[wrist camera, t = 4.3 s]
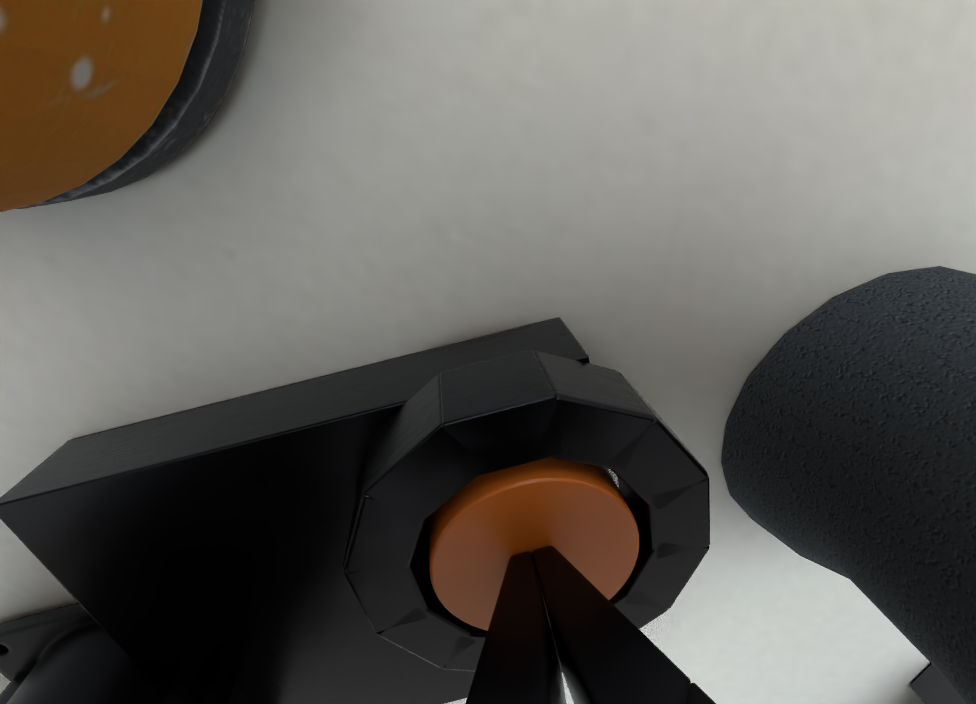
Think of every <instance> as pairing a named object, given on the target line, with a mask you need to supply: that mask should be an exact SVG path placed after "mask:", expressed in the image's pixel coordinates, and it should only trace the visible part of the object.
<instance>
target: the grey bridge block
mask: <svg viewBox="0 0 976 704" xmlns="http://www.w3.org/2000/svg"><path fill="white" fill-rule="evenodd" d="M910 687H911V688H912V689H913V690H914V691H915V692H916V694H917V695H918V696H919V697H920V698H921V699H922V700H923V701H924V703H925V704H966V702H965V701H964V700H963V699H962V698H961V696H960V695H959V694H958V693H957V692H956V690H955V689H954V688H953V687H952V686H951V684H950V683H949V682H948V681H947V680H946V678H945V677H944V676H943V675H942V674H941V673H940V672H939V671H938V670H937V669H936V668H935V667H934V666H933V665H932V664H931V665H930V666H929V667H928V668H927V669H926V670H925V671H924V672H923V673H922V674H921V675H920V676H919V677H918V678H917V679H916V680H915V681H914V682H913V683H911V684H910Z"/></svg>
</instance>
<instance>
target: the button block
mask: <svg viewBox="0 0 976 704" xmlns="http://www.w3.org/2000/svg"><path fill="white" fill-rule="evenodd" d="M546 458H555V459H561V460H566V461H571V462H576V463H582V464H587V465H592V466H597V467H603V468H608V469H611V470H612V471H613V472H614V473H615V474H616V475H617V476H618V484H619V491H620V493H621V494H622V496H623V498H624V500H625V502H626V503H627V505H628V507H629V509H630V511H631V513H632V514H633V516H634V519H635V521H636V524H637V527H638V532H639V552H638V557H637V560H636V563H635V566H634V568H633V570H632V572H631V574H630V576H629V578H628V579H627V581H626V582H625V584H624V585H623V586H622V587H621V589H620V590H619V591H618V592H617V593H616V594H615V595H614V596H613V597H612V598H611V599H610V600H609V601H610V602H611V603H612V604H613V605H614V606H615V607H616V608H617V609H618V610H619V611H620V612H621V613H623V614H624V615H625V616H626V617H627V618H628V619H629V620H630V621H631V622H632V623H633V624H634V625H635V626H636V627H637V628H638V629H640V628H641V627H643V626H645V625H646V624H648V623H649V622H651V621H652V620H654V619H655V618H657V617H658V616H660V615H661V614H663V613H664V612H666V611H667V610H668V609H669V608H671V606H672V605H673V603H674V602H675V600H676V599H677V597H678V595H679V594H680V592H681V591H682V589H683V588H684V586H685V585H686V583H687V582H688V580H689V579H690V577H691V576H692V574H693V573H694V571H695V570H696V568H697V567H698V565H699V563H700V562H701V560H702V559H703V557H704V556H705V554H706V553H707V551H708V550H709V545H710V500H709V477H708V475H707V472H706V470H705V469H704V468H703V467H702V466H701V465H700V463H699V462H698V461H697V460H696V459H695V457H694V456H693V455H692V454H691V453H690V451H689V450H688V449H687V448H686V447H685V446H684V444H683V443H682V442H681V441H680V440H679V438H678V437H677V436H676V435H675V434H674V432H673V431H672V430H671V429H670V428H669V427H668V425H667V424H666V423H665V422H664V421H663V420H662V418H661V417H660V416H659V415H658V414H657V413H656V412H655V411H654V410H653V409H652V407H651V406H650V405H649V404H648V403H647V402H646V401H645V400H644V399H643V397H642V396H641V395H640V394H639V393H638V392H637V391H636V390H635V389H634V388H633V386H632V385H631V384H630V383H629V382H628V381H627V380H626V379H625V378H624V376H623V375H622V374H621V373H619V372H616V371H615V370H612V369H608V368H604V367H600V366H596V365H592V364H590V363H589V356H588V355H587V353H586V352H585V351H584V349H583V348H582V347H581V345H580V344H579V343H578V341H577V340H576V339H575V337H574V336H573V335H572V333H571V332H570V331H569V329H568V328H567V327H566V325H565V324H564V323H563V321H562V320H561V318H555V319H551V320H547V321H543V322H539V323H535V324H531V325H527V326H523V327H519V328H515V329H511V330H507V331H503V332H499V333H495V334H491V335H487V336H483V337H479V338H475V339H471V340H467V341H463V342H459V343H455V344H451V345H447V346H443V347H439V348H435V349H431V350H428V351H424V352H420V353H416V354H412V355H408V356H404V357H400V358H396V359H392V360H388V361H384V362H380V363H376V364H372V365H368V366H364V367H360V368H356V369H352V370H348V371H344V372H340V373H336V374H332V375H328V376H324V377H320V378H316V379H312V380H308V381H304V382H300V383H296V384H292V385H288V386H284V387H280V388H276V389H272V390H268V391H264V392H260V393H256V394H252V395H248V396H244V397H240V398H236V399H232V400H229V401H225V402H221V403H217V404H213V405H209V406H205V407H201V408H197V409H193V410H189V411H185V412H181V413H177V414H173V415H169V416H165V417H161V418H157V419H153V420H149V421H145V422H141V423H137V424H133V425H129V426H125V427H121V428H117V429H113V430H109V431H105V432H101V433H97V434H93V435H89V436H85V437H81V438H77V439H73V440H69V441H67V442H66V443H65V444H64V445H63V446H61V447H60V448H59V449H58V450H57V451H56V452H54V453H53V454H52V455H51V456H50V457H48V458H47V459H46V460H45V461H44V462H42V463H41V464H40V465H39V466H38V467H36V468H35V469H34V470H33V471H32V472H31V473H29V474H28V475H27V476H26V477H25V478H23V479H22V480H21V481H20V482H19V483H17V484H16V485H15V486H14V487H13V488H11V489H10V490H9V491H8V492H7V493H5V494H4V495H3V496H2V497H1V498H0V519H1V520H2V521H3V522H4V523H5V524H6V525H7V526H8V527H9V528H10V529H11V530H12V532H13V533H14V534H15V535H16V536H17V537H18V538H19V539H20V540H21V541H22V542H23V543H24V544H25V546H26V547H27V548H28V549H29V550H30V551H31V552H32V553H33V554H34V555H35V556H36V557H37V558H38V559H39V561H40V562H41V563H42V564H43V565H44V566H45V567H46V568H47V569H48V570H49V571H50V572H51V573H52V575H53V576H54V577H55V578H56V579H57V580H58V581H59V582H60V583H61V584H62V585H63V586H64V587H65V588H66V590H67V591H68V592H69V593H70V594H71V595H72V596H73V597H74V598H75V599H76V600H77V601H78V602H79V604H80V605H81V606H82V607H83V608H84V609H85V610H86V611H87V612H88V613H89V614H90V615H91V616H92V617H93V619H94V620H95V621H96V622H97V623H98V624H99V625H100V626H101V627H102V628H103V629H104V630H105V631H106V633H107V634H108V635H109V636H110V637H111V638H112V639H113V640H114V641H115V642H116V643H117V644H118V645H119V646H120V648H121V649H122V650H123V651H124V652H125V653H126V654H127V655H128V656H129V657H130V658H131V659H132V660H133V662H134V663H135V664H136V665H137V666H138V667H139V668H140V669H141V670H142V671H143V672H144V673H145V674H146V675H147V677H148V678H149V679H150V680H151V681H152V682H153V683H155V684H159V685H164V686H175V685H179V684H183V683H187V682H192V681H199V682H204V683H205V684H206V685H211V684H214V683H218V682H222V681H224V682H229V683H233V684H235V685H236V687H237V688H238V689H239V690H240V692H241V693H242V694H243V695H244V697H245V698H246V699H247V700H248V702H249V703H250V704H445V703H448V702H452V701H456V700H460V699H464V698H467V697H468V694H469V691H470V687H471V684H472V681H473V678H474V674H475V671H476V668H477V664H478V661H479V658H480V654H481V651H482V648H483V644H484V641H485V638H486V634H487V630H483V629H480V628H477V627H474V626H472V625H469V624H467V623H465V622H463V621H462V620H460V619H458V618H457V617H456V616H454V615H453V614H452V613H450V612H449V611H448V610H447V609H446V608H445V607H444V605H443V604H442V603H441V601H440V600H439V599H438V597H437V595H436V593H435V591H434V589H433V586H432V583H431V579H430V570H429V516H430V515H431V514H432V513H433V512H434V511H436V510H437V509H438V508H439V507H441V506H442V505H443V504H444V503H446V502H447V501H448V500H449V499H450V498H452V497H453V496H454V495H455V494H457V493H458V492H459V491H460V490H461V489H463V488H464V487H465V486H466V485H468V484H469V483H470V482H471V481H472V480H474V479H475V478H476V477H477V476H480V475H484V474H487V473H491V472H495V471H499V470H503V469H507V468H511V467H515V466H519V465H523V464H526V463H530V462H534V461H538V460H542V459H546ZM551 631H552V630H551ZM552 635H553V634H552ZM553 639H554V638H553ZM554 643H555V642H554ZM555 647H556V645H555ZM556 651H557V649H556ZM557 655H558V653H557ZM558 659H559V657H558ZM559 663H560V661H559ZM560 668H561V664H560ZM561 672H563V671H562V668H561Z"/></svg>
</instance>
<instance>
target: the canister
mask: <svg viewBox="0 0 976 704" xmlns="http://www.w3.org/2000/svg"><path fill="white" fill-rule="evenodd" d="M253 7H254V0H0V212H3V211H7V210H12V209H22V208H30V207H36V206H42V205H48V204H53V203H59V202H65V201H71V200H76V199H80V198H85V197H89V196H94V195H98V194H103V193H107V192H112V191H114V190H116V189H119V188H121V187H123V186H126V185H128V184H130V183H133V182H135V181H137V180H140V179H142V178H144V177H147V176H148V175H150V174H151V173H153V172H154V171H156V170H157V169H159V168H160V167H162V166H163V165H164V164H166V163H167V162H169V161H170V160H172V159H173V158H175V157H176V156H178V155H179V154H180V153H181V152H182V151H183V150H184V149H185V148H186V147H187V146H188V145H189V144H190V143H191V142H192V140H193V139H194V138H195V137H196V136H197V135H198V134H199V133H200V132H201V131H202V130H203V129H204V128H205V127H206V125H207V124H208V122H209V121H210V119H211V118H212V116H213V114H214V113H215V111H216V110H217V108H218V107H219V105H220V104H221V102H222V101H223V99H224V97H225V96H226V94H227V92H228V90H229V87H230V85H231V82H232V80H233V78H234V75H235V73H236V70H237V68H238V65H239V63H240V60H241V58H242V55H243V53H244V48H245V43H246V39H247V34H248V30H249V25H250V21H251V16H252V12H253Z"/></svg>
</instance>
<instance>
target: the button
mask: <svg viewBox="0 0 976 704" xmlns="http://www.w3.org/2000/svg"><path fill="white" fill-rule="evenodd" d="M546 546H553V547H555V548H556V549H557V550H558V551H559V552H560V553H561V554H562V555H563V556H564V557H565V558H566V559H567V560H568V561H569V562H570V563H571V564H572V565H573V566H574V567H575V568H576V569H577V570H578V571H579V572H580V573H582V574H583V575H584V576H585V577H586V578H587V579H588V580H589V581H590V582H591V583H592V584H593V585H594V586H595V587H596V588H597V589H598V590H599V591H600V592H601V593H602V594H603V595H604V596H605V597H606V598H607V599H608V600H610V599H611V598H612V597H613V596H614V595H615V594H616V593H617V592H618V591H619V590H620V589H621V587H622V586H623V585H624V584H625V582H626V581H627V579H628V578H629V576H630V574H631V572H632V570H633V568H634V566H635V563H636V560H637V557H638V552H639V532H638V527H637V524H636V521H635V519H634V516H633V514H632V513H631V511H630V509H629V507H628V505H627V503H626V502H625V500H624V498H623V496H622V494H621V493H620V491H619V489H618V487H617V485H616V483H615V482H614V480H613V478H612V476H611V474H610V473H609V471H608V469H607V468H603V467H597V466H592V465H587V464H582V463H576V462H571V461H566V460H561V459H555V458H546V459H542V460H538V461H534V462H530V463H526V464H523V465H519V466H515V467H511V468H507V469H503V470H499V471H495V472H491V473H487V474H484V475H480V476H477V477H476V478H475V479H474V480H472V481H471V482H470V483H469V484H468V485H466V486H465V487H464V488H463V489H461V490H460V491H459V492H458V493H457V494H455V495H454V496H453V497H452V498H450V499H449V500H448V501H447V502H446V503H444V504H443V505H442V506H441V507H439V508H438V509H437V510H436V511H434V512H433V513H432V514H431V515H430V516H429V570H430V579H431V583H432V586H433V589H434V591H435V593H436V595H437V597H438V599H439V600H440V601H441V603H442V604H443V605H444V607H445V608H446V609H447V610H448V611H449V612H450V613H452V614H453V615H454V616H456V617H457V618H458V619H460V620H462V621H463V622H465V623H467V624H469V625H472V626H474V627H477V628H480V629H483V630H487V631H488V628H489V625H490V621H491V618H492V615H493V611H494V608H495V605H496V601H497V598H498V595H499V591H500V588H501V585H502V581H503V578H504V575H505V571H506V568H507V565H508V562H509V559H510V557H511V556H512V555H516V554H519V553H523V552H527V551H529V552H531V553H533V551H534V550H535V549H538V548H542V547H546ZM532 556H533V555H532ZM533 560H534V559H533ZM534 564H535V563H534ZM535 568H536V567H535ZM536 572H537V571H536ZM543 599H544V598H543ZM544 603H545V602H544ZM545 607H546V606H545ZM546 611H547V610H546ZM547 615H548V614H547ZM548 619H549V618H548ZM549 623H550V622H549ZM550 627H551V626H550Z"/></svg>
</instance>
